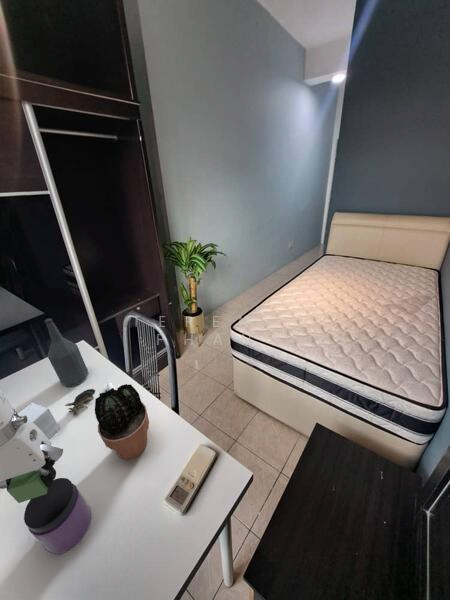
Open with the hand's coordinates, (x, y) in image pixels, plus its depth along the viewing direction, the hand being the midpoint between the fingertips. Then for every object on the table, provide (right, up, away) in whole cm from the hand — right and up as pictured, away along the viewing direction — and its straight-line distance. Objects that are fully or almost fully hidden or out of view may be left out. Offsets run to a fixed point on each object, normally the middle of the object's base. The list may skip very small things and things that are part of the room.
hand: (36, 484), depth 51 cm
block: (0, 0, 0) cm, 0 cm away
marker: (-2, +1, +44) cm, 44 cm away
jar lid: (0, -7, +4) cm, 8 cm away
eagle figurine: (-13, -1, +41) cm, 43 cm away
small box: (-22, -7, +32) cm, 40 cm away
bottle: (-24, +5, +54) cm, 59 cm away
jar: (+1, -17, +9) cm, 20 cm away
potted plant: (+10, -8, +27) cm, 30 cm away
